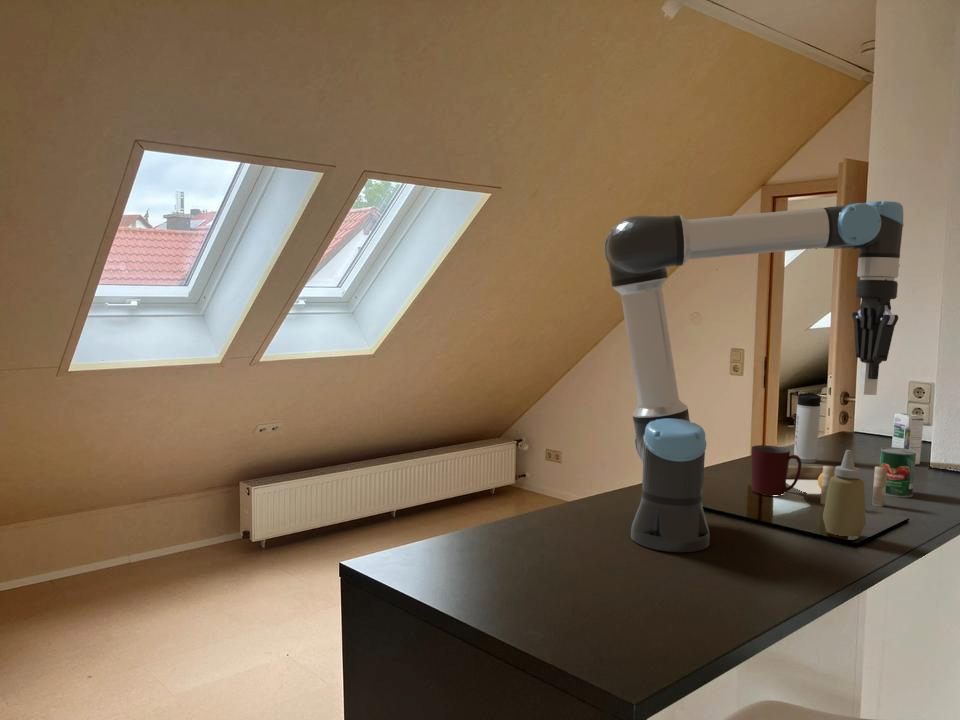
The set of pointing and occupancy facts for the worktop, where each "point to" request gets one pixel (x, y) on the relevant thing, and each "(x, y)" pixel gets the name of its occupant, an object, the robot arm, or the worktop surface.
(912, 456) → the canned tomato
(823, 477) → the post
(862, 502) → the squeeze bottle
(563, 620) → the worktop surface
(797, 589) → the worktop surface
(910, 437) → the syrup box
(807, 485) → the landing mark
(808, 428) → the travel mug
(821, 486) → the ball
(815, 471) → the stopper strip
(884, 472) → the post
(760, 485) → the mug
